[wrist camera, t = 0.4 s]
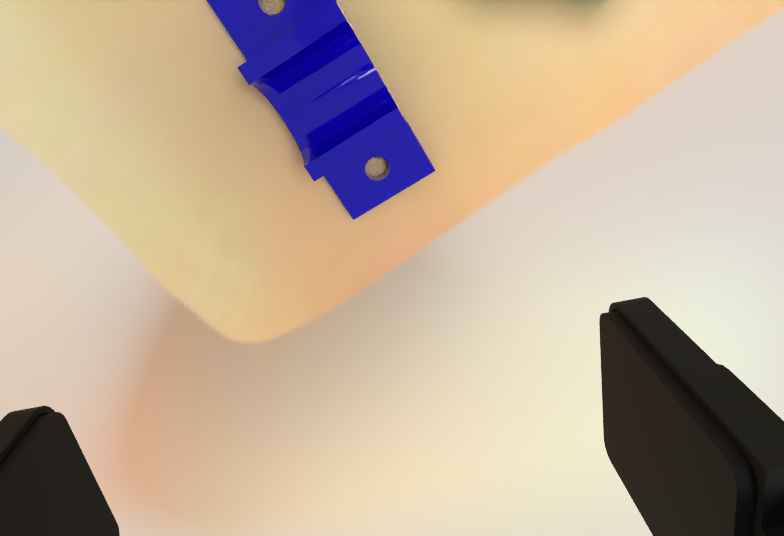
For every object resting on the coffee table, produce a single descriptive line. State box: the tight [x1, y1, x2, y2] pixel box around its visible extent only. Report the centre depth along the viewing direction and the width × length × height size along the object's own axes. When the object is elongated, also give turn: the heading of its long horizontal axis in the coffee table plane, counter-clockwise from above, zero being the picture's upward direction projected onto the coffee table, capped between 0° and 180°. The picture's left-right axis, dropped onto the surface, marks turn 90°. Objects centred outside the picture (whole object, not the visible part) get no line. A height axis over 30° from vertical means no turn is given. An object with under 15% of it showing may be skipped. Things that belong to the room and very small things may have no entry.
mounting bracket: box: [207, 0, 435, 220], centre depth 40 cm, size 18×7×6 cm, turn 31°
